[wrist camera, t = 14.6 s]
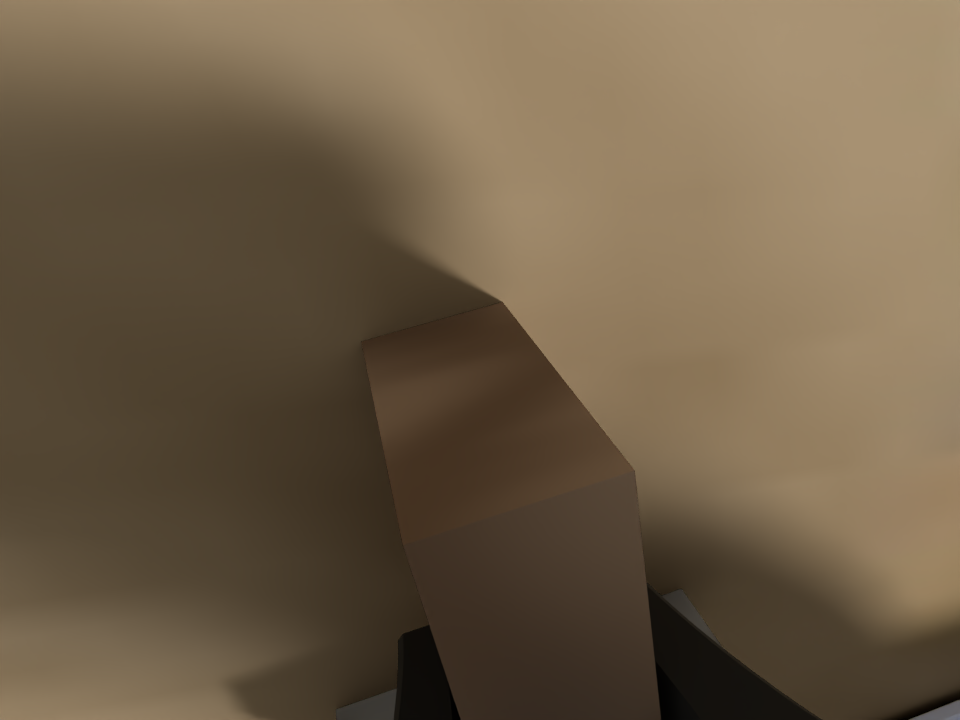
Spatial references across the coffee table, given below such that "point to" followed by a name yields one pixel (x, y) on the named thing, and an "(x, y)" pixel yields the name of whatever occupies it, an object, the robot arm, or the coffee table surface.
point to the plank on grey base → (514, 527)
